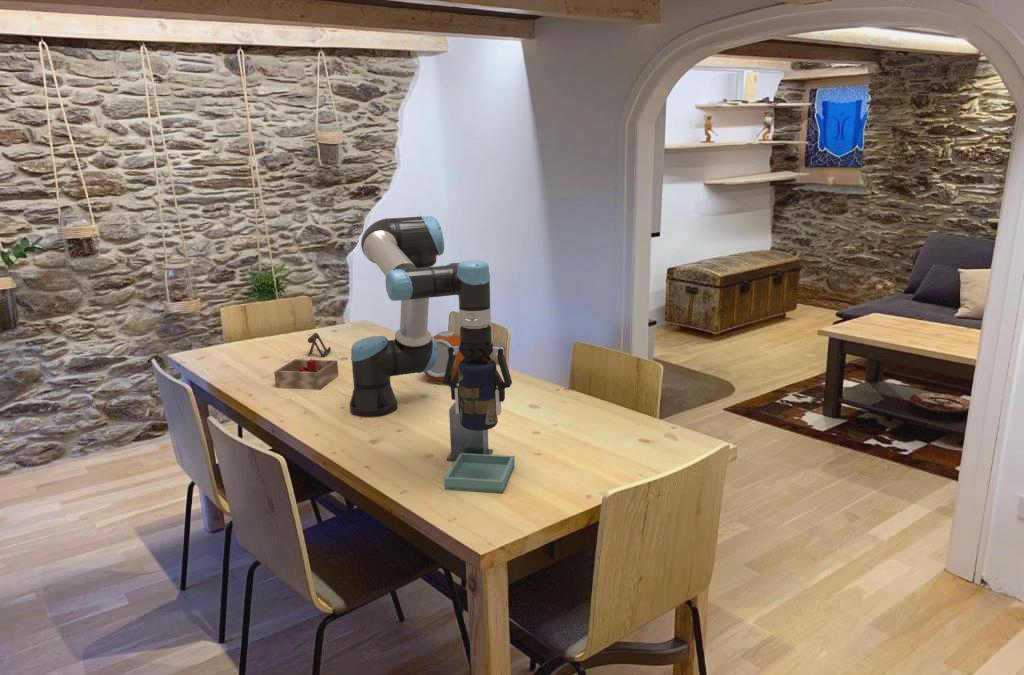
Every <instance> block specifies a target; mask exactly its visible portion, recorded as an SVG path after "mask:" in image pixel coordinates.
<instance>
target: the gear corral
mask: <svg viewBox="0 0 1024 675" xmlns="http://www.w3.org/2000/svg"><path fill="white" fill-rule="evenodd" d="M309 360H310V359H303V358H302V359H299V358H296V359H293V360H291V361H290V362H287V363H286V364H285V365H283V366H281V367H279V368H278V369H276V370H275V371H274V382H275V388H277V389H296V390H299V389H301V390H322V389H323V388H324V387H326V386H327V385H329V384H330V383H331V382H333V381H334V380H335V379H337V378H338V377H339V376H340V375H339V364H338V360H335V359H334V360H332V359H331V360H328V359H327V360H326V359H325V360H324V359H314V360H315V368H316V370H317V371H318V372H299V371H298V369H299V367H307V361H309ZM320 366H321V367H322V368H321V370H320V371H319V368H320Z"/></svg>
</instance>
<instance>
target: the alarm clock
mask: <svg viewBox="0 0 1024 675" xmlns="http://www.w3.org/2000/svg"><path fill="white" fill-rule="evenodd" d="M433 337H434V339H435V341H436V345H437V349H436V351H437V358H436V363H435V365H434V367H433V368H432V369H431V370H429V371H425V372H424V374H425V376H427V378H428V379H430V381H431V382H432V383H436V384H443V381H444V376H445V372H446V367H447V363H448V358H449V354H448V348H449V347H450V346H452V345H454V346H460V343H461V340H460V334H459V335H458V334H456V333H454V331H451V330H442V331H439V332H438V333H437V334H436V335H433ZM463 359H464V356H463V355H462V354H461V352H460V351H458V354H457V355H456V358H455V362H454V367H453V371H452V376H451V380H453V379H454V377H455V375H456V373H457V371H458V365H459V363H460V362H461V361H462V360H463ZM443 385H444V384H443Z"/></svg>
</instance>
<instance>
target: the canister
mask: <svg viewBox="0 0 1024 675" xmlns="http://www.w3.org/2000/svg"><path fill="white" fill-rule="evenodd" d="M487 360H488V359H487ZM462 361H463V360H462ZM462 361H461V362H460V363H459V365H458V380H459V382H458V385H459V403H460V423H461V425H462V426H463V427H464V428H466V429H468V430H474V431H483V430H488V431H489V430H491V429H493V428H495V427H496V426H497V424H498V421H499V420H498V415H496V393H495V390H496V389H497V385H496V383H495V373H496V372H497V371H498V370H497V371H496V369H497V362H496V361H495V360H493V359H492V361H491V362H490V363H489V364H483V363H474V362H470V361H471V360H468V362H467V363H462Z"/></svg>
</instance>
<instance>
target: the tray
mask: <svg viewBox="0 0 1024 675" xmlns="http://www.w3.org/2000/svg"><path fill="white" fill-rule="evenodd" d="M514 469H515V456H514V455H501V454H491V455H486V454H469V453H460V454H459V456H458V457H457V459H456V461H453V463H452V466H451V467H450V469H449V470H448V472H447V473H446V474H445V476H444V481H443V482H444V483H443V484H444V490H449V491H460V492H461V491H464V492H465V491H466V492H477V493H478V492H479V493H493V494H504V491H505V489H506V488H507V485H508V482H509V480H510V478H511V475H512V473H513V471H514Z"/></svg>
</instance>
